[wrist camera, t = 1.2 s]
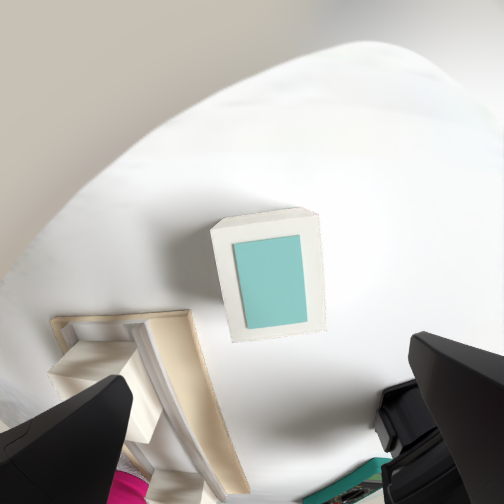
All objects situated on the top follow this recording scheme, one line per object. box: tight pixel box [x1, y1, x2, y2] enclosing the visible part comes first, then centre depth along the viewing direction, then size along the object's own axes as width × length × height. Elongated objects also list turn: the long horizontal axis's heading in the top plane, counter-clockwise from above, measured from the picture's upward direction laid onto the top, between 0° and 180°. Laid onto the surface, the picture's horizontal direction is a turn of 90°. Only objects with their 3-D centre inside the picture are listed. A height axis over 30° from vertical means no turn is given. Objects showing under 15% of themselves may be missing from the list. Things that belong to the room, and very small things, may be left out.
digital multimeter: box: [303, 458, 392, 504], centre depth 24 cm, size 7×15×3 cm, turn 147°
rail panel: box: [47, 310, 250, 504], centre depth 19 cm, size 14×28×7 cm, turn 8°
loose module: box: [210, 207, 327, 343], centre depth 15 cm, size 5×6×5 cm
